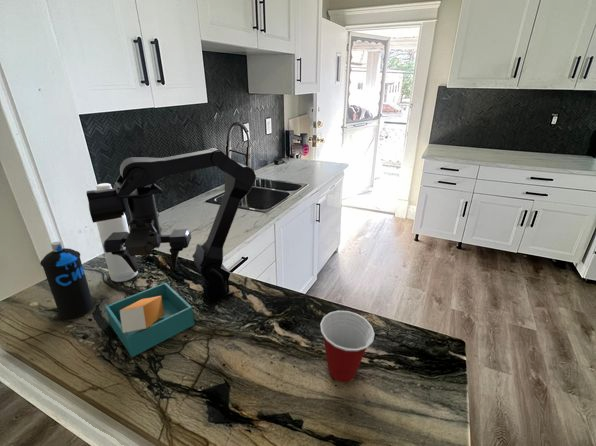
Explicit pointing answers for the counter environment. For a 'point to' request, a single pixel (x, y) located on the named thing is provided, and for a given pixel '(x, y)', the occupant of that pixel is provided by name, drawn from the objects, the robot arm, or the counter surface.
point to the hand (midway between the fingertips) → (155, 270)
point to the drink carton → (141, 314)
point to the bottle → (115, 263)
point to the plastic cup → (345, 342)
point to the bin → (168, 325)
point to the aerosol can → (67, 282)
